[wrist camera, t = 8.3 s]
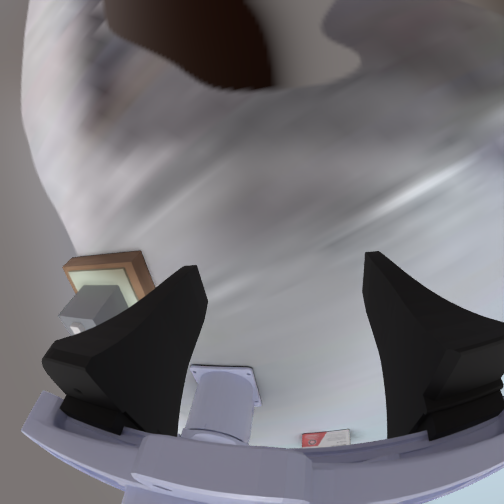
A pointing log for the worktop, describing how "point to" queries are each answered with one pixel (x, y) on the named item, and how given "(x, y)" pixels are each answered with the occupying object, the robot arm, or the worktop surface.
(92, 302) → the grey box
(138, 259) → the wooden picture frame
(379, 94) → the worktop surface
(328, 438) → the ink cartridge box
